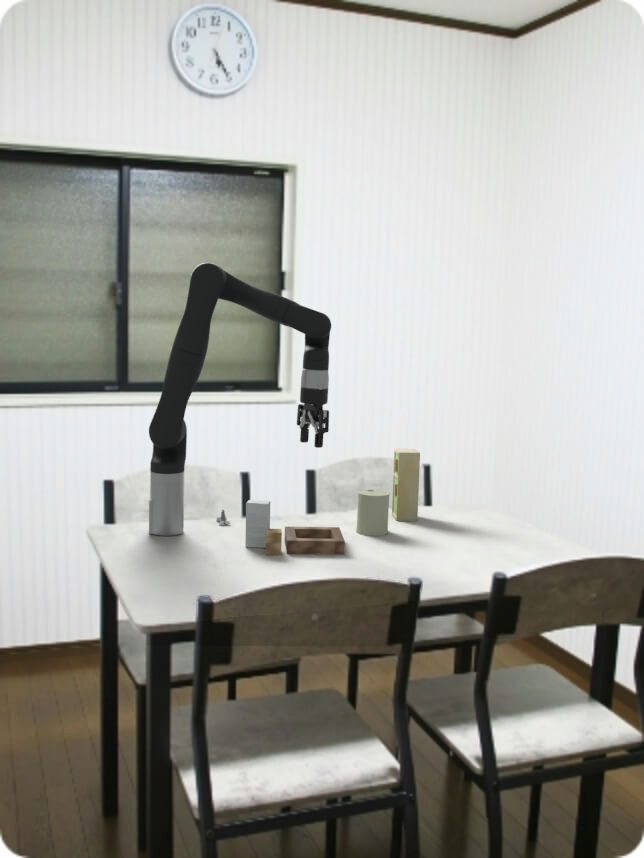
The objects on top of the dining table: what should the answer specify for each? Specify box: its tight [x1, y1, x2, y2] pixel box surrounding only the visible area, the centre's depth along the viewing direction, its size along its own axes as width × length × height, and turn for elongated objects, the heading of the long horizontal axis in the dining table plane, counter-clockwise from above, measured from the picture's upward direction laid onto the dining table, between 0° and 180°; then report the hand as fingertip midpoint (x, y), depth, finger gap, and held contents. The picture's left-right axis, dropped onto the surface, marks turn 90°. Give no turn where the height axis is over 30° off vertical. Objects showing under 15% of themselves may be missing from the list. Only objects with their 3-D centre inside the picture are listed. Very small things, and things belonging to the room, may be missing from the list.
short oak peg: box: [264, 528, 283, 556], centre depth 239 cm, size 4×4×6 cm
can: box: [355, 488, 390, 537], centre depth 265 cm, size 9×9×12 cm
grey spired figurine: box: [215, 509, 231, 526], centre depth 265 cm, size 15×7×4 cm, turn 17°
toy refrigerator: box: [391, 448, 421, 522], centre depth 283 cm, size 8×7×21 cm
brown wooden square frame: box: [284, 526, 346, 555], centre depth 247 cm, size 15×15×4 cm
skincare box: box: [244, 499, 271, 549], centre depth 245 cm, size 6×4×12 cm
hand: (311, 444), depth 254 cm, fingers open, 8 cm apart
